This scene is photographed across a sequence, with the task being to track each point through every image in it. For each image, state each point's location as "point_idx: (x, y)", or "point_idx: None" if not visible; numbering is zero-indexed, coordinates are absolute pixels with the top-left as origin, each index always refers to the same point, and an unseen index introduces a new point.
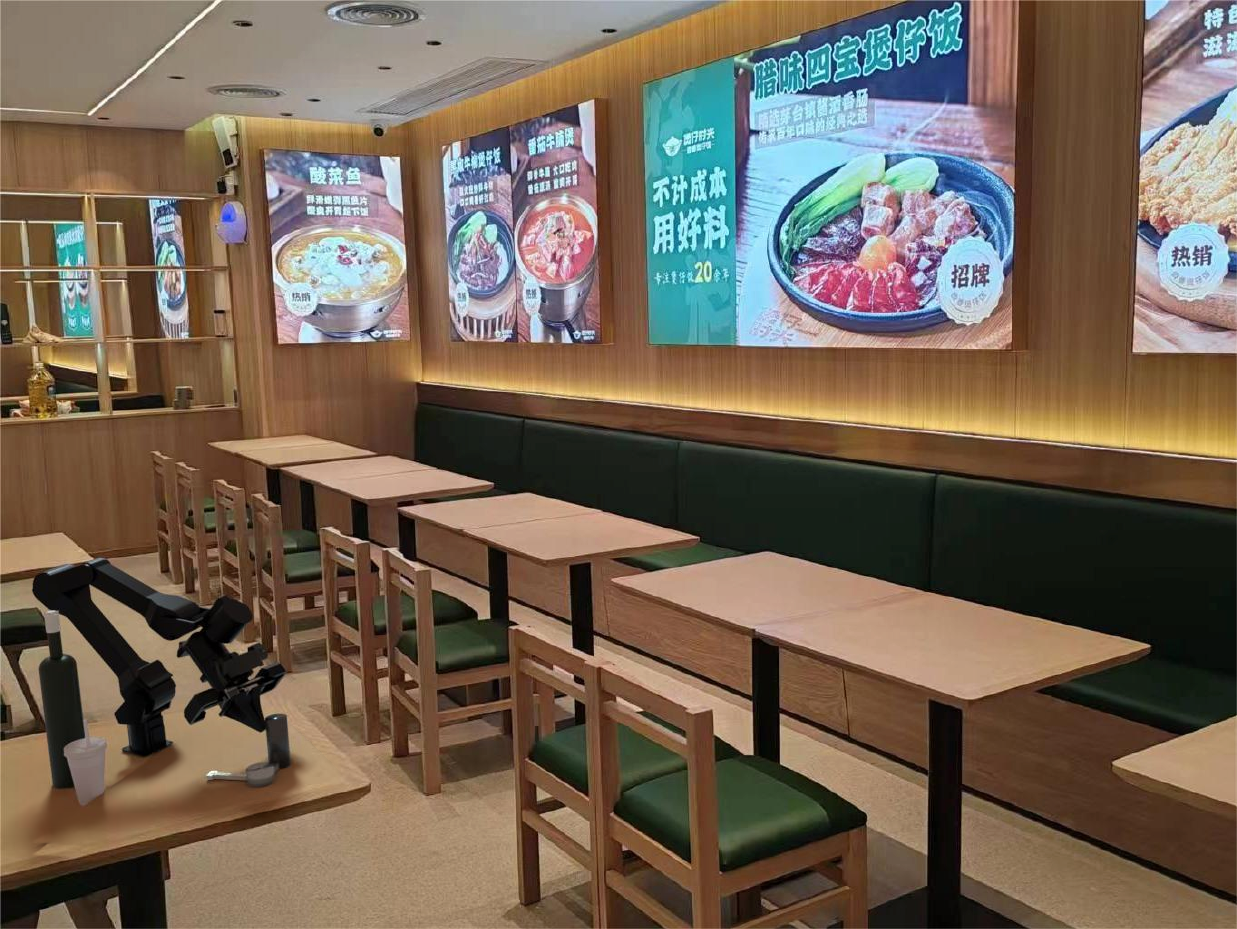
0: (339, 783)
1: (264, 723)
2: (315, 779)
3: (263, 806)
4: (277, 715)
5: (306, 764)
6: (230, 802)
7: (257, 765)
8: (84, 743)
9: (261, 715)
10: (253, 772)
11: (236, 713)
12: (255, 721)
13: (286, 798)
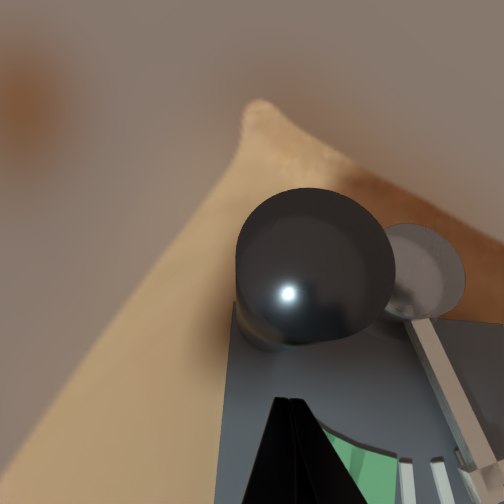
0: (259, 132)
1: (277, 418)
2: (265, 194)
3: (438, 212)
4: (280, 272)
5: (194, 280)
6: (480, 309)
7: (409, 289)
8: None
9: (269, 482)
10: (454, 259)
11: None
12: (343, 464)
13: (379, 191)
